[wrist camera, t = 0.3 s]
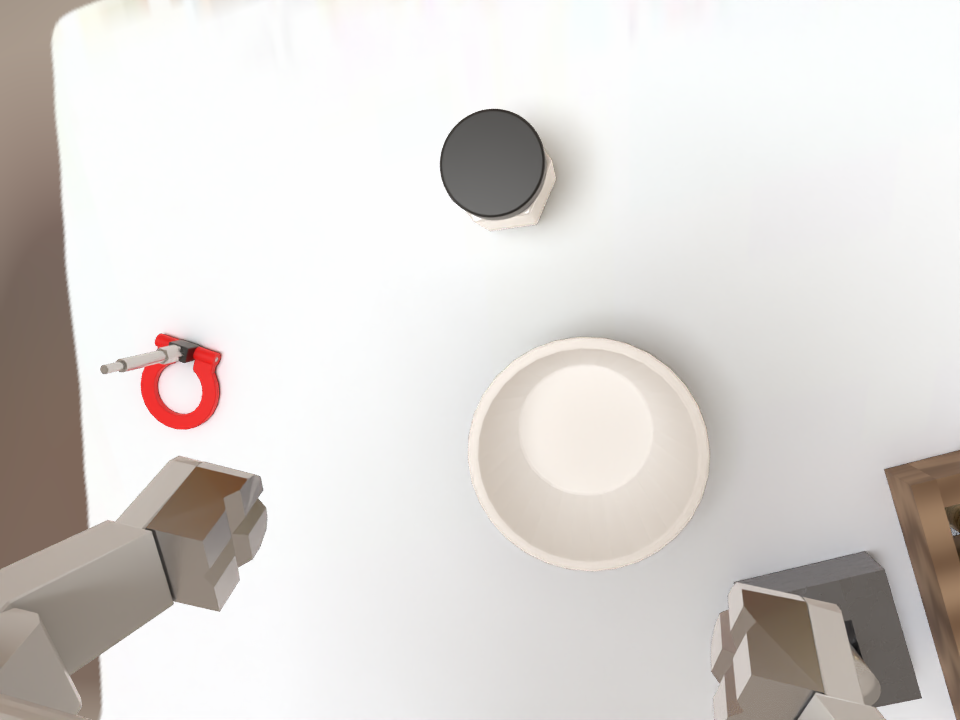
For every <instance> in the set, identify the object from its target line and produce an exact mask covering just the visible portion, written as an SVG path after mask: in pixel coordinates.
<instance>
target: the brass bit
mask: <svg viewBox="0 0 960 720" xmlns="http://www.w3.org/2000/svg"><path fill="white" fill-rule="evenodd" d="M945 511H946V515H947V519H948V522H949V526H950V527H952V528H953V529H955V530H956V531H958V532H959V533H960V504H957V505H953V506H949V507H945Z"/></svg>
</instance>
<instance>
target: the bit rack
mask: <svg viewBox="0 0 960 720" xmlns="http://www.w3.org/2000/svg"><path fill="white" fill-rule="evenodd" d="M884 470H885V474H886V477H887V480H888V484H889V487H890V491H891V494H892V498H893V501H894V505H895V508H896V512H897V515H898V519H899V522H900V526H901V529H902V533H903V536H904V539H905V543H906V546H907V550H908V553H909V557H910V560H911V564H912V567H913V571H914V574H915V578H916V581H917V585H918V588H919V591H920V595H921V598H922V602H923V605H924V609H925V612H926V616H927V619H928V623H929V626H930V630H931V633H932V637H933V640H934V643H935V647H936V650H937V654H938V657H939V661H940V664H941V668H942V671H943V675H944V678H945V682H946V685H947V689H948V692H949V695H950V699H951V702H952V706H953V709H954V713H955V716H956V720H960V535H956V536H952V533H951V529H950V526H949V522H948V519H947V515H946V511H945V507H949V506H953V505H957V504H960V450H958V451H955V452H951V453H947V454H943V455H939V456H935V457H931V458H927V459H923V460H919V461H915V462H911V463H907V464H903V465H900V466H896V467H892V468H888V469H884Z"/></svg>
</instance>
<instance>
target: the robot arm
mask: <svg viewBox="0 0 960 720" xmlns="http://www.w3.org/2000/svg"><path fill="white" fill-rule="evenodd" d="M262 491H263V486H262V481H261V477H260V476H258V475H255V474H251V473H247V472H243V471H239V470H235V469H231V468H227V467H223V466H219V465H216V464H212V463H208V462H203V461H199V460H195V459H190V458H186V457H182V456H177V457H176V458H174V459H172V460H170V461H169V462H168V463H167V464H166V465H165V466H164V467H163V468H162V470H161V471H160V472H159V473H158V474H157V475H156V476H155V478H154V479H153V480H152V481H151V482H150V483H149V484H148V485H147V487H146V488H145V489H144V490H143V491H142V492H141V493H140V494H139V496H138V497H137V498H136V499H135V500H134V501H133V502H132V503H131V505H130V506H129V507H128V508H127V509H126V510H125V511H124V512H123V514H122V515H121V516H120V517H119V518H118V519H117V520H116V522H114V521H109V520H107V521H105V522H102V523H100V524H98V525H96V526H94V527H92V528H89V529H87V530H85V531H83V532H81V533H79V534H76V535H74V536H72V537H70V538H68V539H65V540H63V541H61V542H59V543H57V544H55V545H52V546H50V547H48V548H46V549H44V550H42V551H39V552H37V553H35V554H33V555H31V556H29V557H26V558H24V559H22V560H20V561H18V562H15V563H13V564H11V565H9V566H7V567H5V568H2V569H0V720H91V719H88V718H84V717H81V716H77V713H78V711H79V710H80V709H81V707H82V705H81V698H80V696H79V694H78V692H77V690H76V688H75V686H74V684H73V682H72V680H71V678H70V675H71V674H73V673H74V672H76V671H77V670H79V669H80V668H81V667H83V666H84V665H86V664H87V663H89V662H90V661H92V660H93V659H95V658H96V657H98V656H99V655H101V654H102V653H103V652H105V651H106V650H108V649H109V648H111V647H112V646H114V645H115V644H117V643H118V642H119V641H121V640H122V639H124V638H125V637H127V636H128V635H130V634H131V633H133V632H134V631H135V630H137V629H138V628H140V627H141V626H143V625H144V624H146V623H147V622H149V621H150V620H151V619H153V618H154V617H156V616H157V615H159V614H160V613H162V612H163V611H165V610H166V609H167V608H169V607H170V606H172V605H173V604H174V602H173V601H175V602H179V603H184V604H188V605H193V606H197V607H201V608H206V609H210V610H215V611H219V612H220V611H221V609H222V607H223V606H224V604H225V603H226V601H227V600H228V598H229V596H230V595H231V593H232V592H233V590H234V588H235V587H236V585H237V584H238V582H239V580H240V578H239V571H238V567H240V566H242V565H243V564H245V563H247V562H249V561H250V560H252V559H253V558H254V556H255V555H256V553H257V551H258V550H259V548H260V546H261V544H262V541H263V538H264V535H265V532H266V527H267V511H266V507H265V506H264V505H263V504H262V502H261V501H260V500H259V499H258V497H259V496H260V494H261V493H262ZM728 607H729V609H728V610H726V611H723V612H721V613H720V614H719V616H718V619H717V621H716V624H715V626H714V631H713V636H712V641H711V672H712V673H713V675H714V676H715V677H716V679H717V680H718V682H719V683H720V685H719V687H718V689H717V691H716V693H715V695H714V697H713V708H714V720H886V719H885V718H884V717H883V716H882V714H881V713H880V712H879V711H878V710H877V709H876V707H872V706H869V705H865V702H864V698H863V694H862V690H861V687H860V683H859V679H858V675H857V671H856V667H855V663H854V659H853V655H852V651H851V647H850V643H849V639H848V635H847V631H846V628H845V624H844V620H843V616H842V612H841V610H840V609H839V607H838V606H837V604H832V603H828V602H823V601H819V600H814V599H810V598H805V597H800V596H799V595H794V594H790V593H785V592H780V591H775V590H771V589H766V588H761V587H757V586H752V585H747V584H743V583H738V582H737V583H736V584H735V585H733V586H732V588H731V590H730V592H729V594H728Z"/></svg>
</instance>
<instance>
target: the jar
mask: <svg viewBox="0 0 960 720" xmlns="http://www.w3.org/2000/svg"><path fill="white" fill-rule="evenodd" d="M440 172H441V177H442V181H443V184H444V187H445V189H446V191H447V193H448V194H449V196H450V198H451V199H452V200H453V201H454V202H455V203H456V204H457V205H458V206H460V207H461V208H462V209H464V210H465V211H466V212H467V213H468V215H469V216H470V218H471V219H472V220H473V221H474V222H475V223H477V224H478V225H480V226H482V227H484V228H485V229H487V230H489V231H495V230H502V229H509V228H516V227H524V226H531V225H536V224H537V223H538V221H539V219H540V216H541V214H542V212H543V209H544V207H545V205H546V202H547V200H548V197H549V195H550V193H551V190H552V188H553V186H554V183H555V181H556V175H555V171H554V167H553V162H552V159H551V158H550V156H549V155H548V154H547V152H546V151H545V150H544V148H543V145H542V142H541V139H540V137H539V135H538V134H537V132H536V131H535V129H534V128H533V127H532V126H531V125H530V124H529V123H528V122H527V121H526V120H525V119H524V118H522V117H521V116H519V115H517V114H515V113H513V112H510V111H506V110H502V109H486V110H481V111H478V112H475V113H473V114H471V115H469V116H467V117H465V118H464V119H463V120H461V121H460V122H459V123H458V124H457V125H456V126H455V127H454V128H453V129H452V130H451V132H450V133H449V135H448V137H447V138H446V140H445V143H444V145H443V148H442V152H441V158H440Z"/></svg>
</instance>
